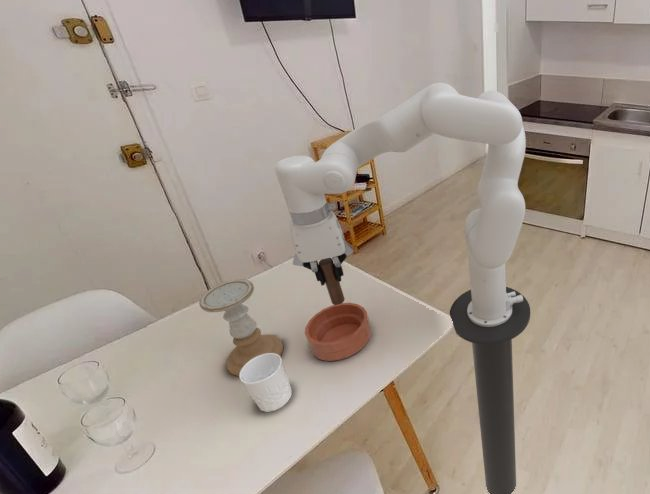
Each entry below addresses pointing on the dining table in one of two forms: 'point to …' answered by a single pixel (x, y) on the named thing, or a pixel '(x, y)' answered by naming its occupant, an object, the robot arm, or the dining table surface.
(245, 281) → the candle holder
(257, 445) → the dining table surface
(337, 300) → the dark brown cylinder
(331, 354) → the bowl
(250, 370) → the white cup
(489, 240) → the robot arm
